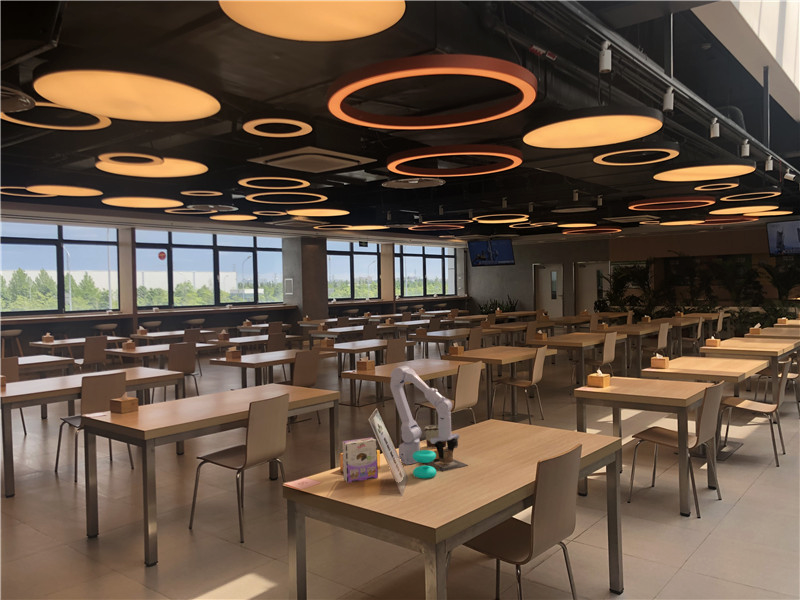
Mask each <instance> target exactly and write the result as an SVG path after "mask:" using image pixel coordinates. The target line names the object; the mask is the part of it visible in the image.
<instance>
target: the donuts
mask: <svg viewBox="0 0 800 600" xmlns="http://www.w3.org/2000/svg"><path fill="white" fill-rule="evenodd" d="M430 450H431V449H428V450H427V449H420V450H419V451H416V452H414V453H413V459H414V460H415V461H417V462H418V463H422V464H424V463H427V462H431V461H433V460H434V459H435V458H436V454H435V452H433V451H430ZM412 474H413V476H414V477H415V478H416V479H417V478H418V479H424V480H425V479H426V480H427V479H433V478H434V477H435V476H436V475H437V469H435V468H434V467H432V466H428V465H426V464H424V465H418V466H416V467H415V468H414V469H413V471H412Z"/></svg>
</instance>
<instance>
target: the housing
mask: <svg viewBox="0 0 800 600" xmlns="http://www.w3.org/2000/svg"><path fill="white" fill-rule="evenodd" d="M453 454H454V450H453V451H452V450H449V449H443V458H439V461H440V462H442V463H444V464H446V463H451V462H453V459H454V455H453Z"/></svg>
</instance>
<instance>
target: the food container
mask: <svg viewBox="0 0 800 600" xmlns="http://www.w3.org/2000/svg"><path fill="white" fill-rule="evenodd" d="M423 432H424V435H425V440H426V448H436V447H435V445H434V444H432V443H431V438H435V437H437V436H439V428H438V424H431V425H426V426H424V428H423ZM442 443H443V444H444V448H445V447H447V441H442Z"/></svg>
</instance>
